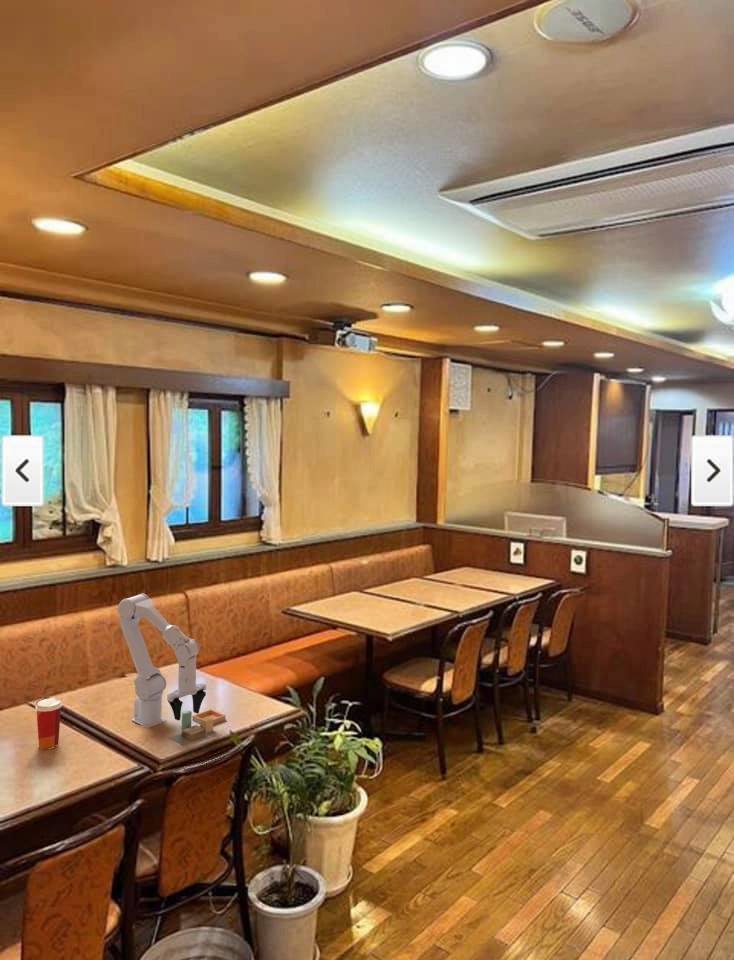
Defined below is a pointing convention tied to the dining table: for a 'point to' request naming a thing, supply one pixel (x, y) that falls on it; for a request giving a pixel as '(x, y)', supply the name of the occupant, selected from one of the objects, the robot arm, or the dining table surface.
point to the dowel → (186, 719)
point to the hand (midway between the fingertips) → (186, 716)
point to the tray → (210, 713)
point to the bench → (204, 723)
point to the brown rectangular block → (193, 732)
